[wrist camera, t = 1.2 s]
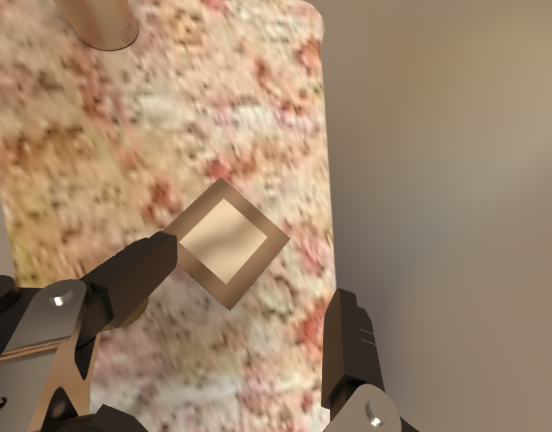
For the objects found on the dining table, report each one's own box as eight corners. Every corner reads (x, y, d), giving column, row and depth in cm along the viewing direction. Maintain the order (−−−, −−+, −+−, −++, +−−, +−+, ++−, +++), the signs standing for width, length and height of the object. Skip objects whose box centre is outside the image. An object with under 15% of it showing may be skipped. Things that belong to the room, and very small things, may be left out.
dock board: (160, 243, 30) (151, 240, 27) (222, 184, 33) (220, 176, 30) (230, 306, 30) (229, 311, 27) (285, 240, 33) (290, 238, 30)
